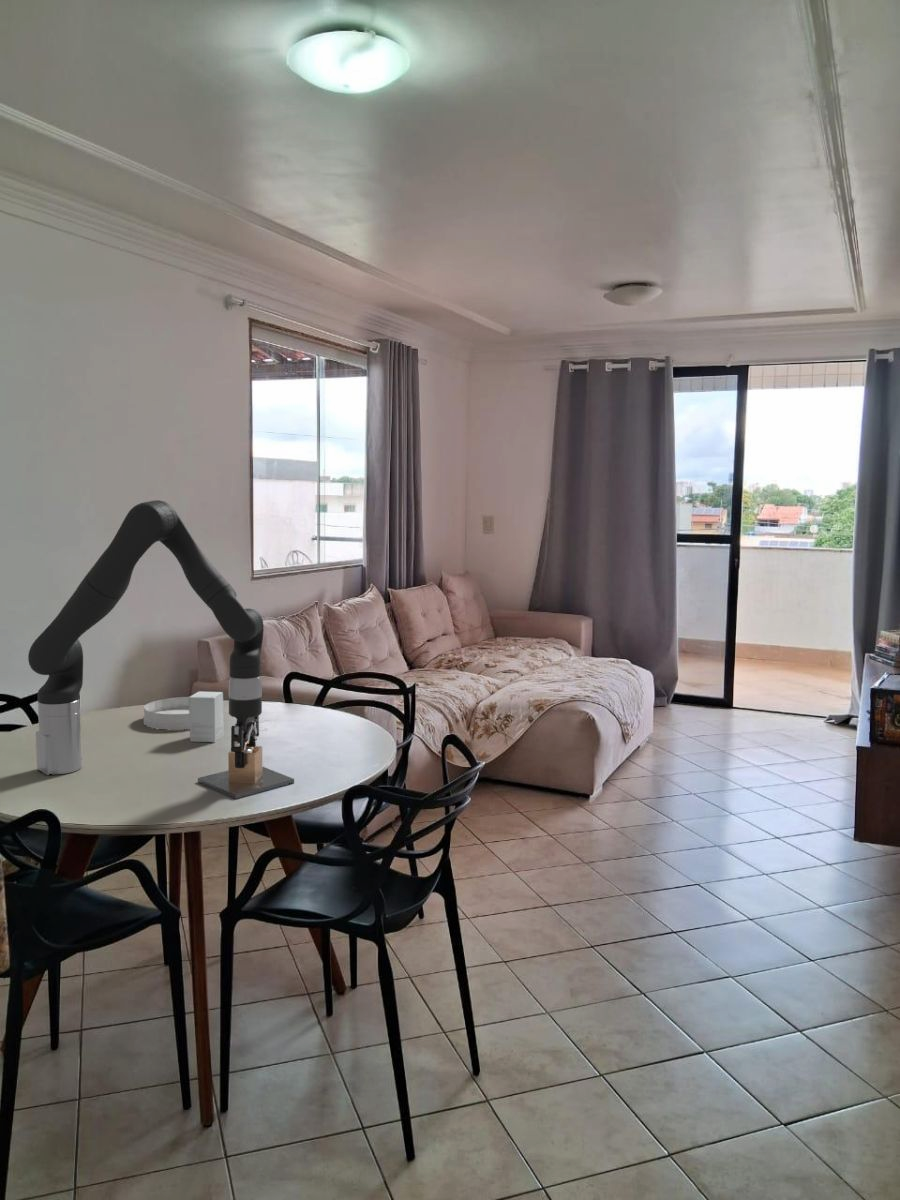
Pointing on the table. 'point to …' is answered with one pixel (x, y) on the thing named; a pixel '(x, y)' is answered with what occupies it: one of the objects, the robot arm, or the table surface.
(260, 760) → the wooden cubby box
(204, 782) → the grey square plate
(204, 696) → the supplement box
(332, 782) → the table surface
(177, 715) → the dish
